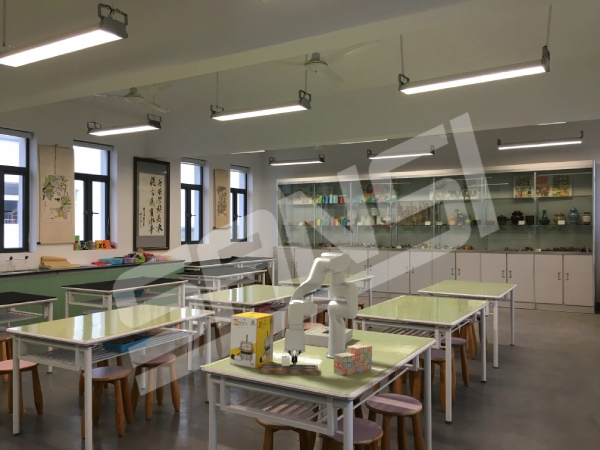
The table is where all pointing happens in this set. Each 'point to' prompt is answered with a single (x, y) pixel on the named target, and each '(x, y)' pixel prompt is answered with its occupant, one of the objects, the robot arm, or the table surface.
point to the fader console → (290, 369)
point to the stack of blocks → (353, 360)
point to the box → (323, 337)
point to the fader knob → (285, 361)
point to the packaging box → (251, 339)
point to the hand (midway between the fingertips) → (294, 364)
